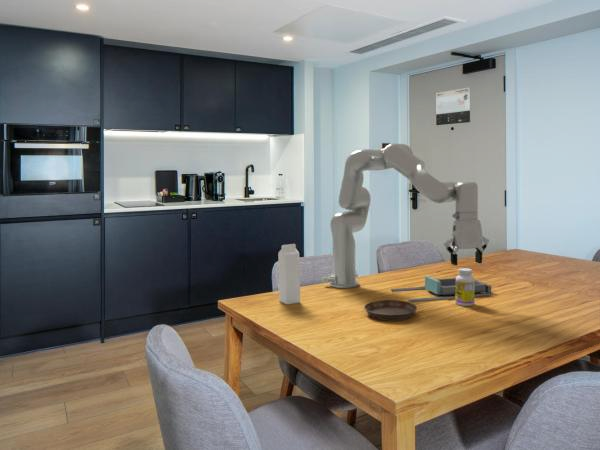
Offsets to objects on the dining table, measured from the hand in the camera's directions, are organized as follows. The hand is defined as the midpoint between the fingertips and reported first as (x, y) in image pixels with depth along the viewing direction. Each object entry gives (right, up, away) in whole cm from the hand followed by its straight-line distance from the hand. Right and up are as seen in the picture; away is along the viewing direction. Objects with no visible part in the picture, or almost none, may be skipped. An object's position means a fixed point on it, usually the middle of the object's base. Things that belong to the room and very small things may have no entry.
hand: (466, 263), depth 181 cm
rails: (-5, -13, +18) cm, 23 cm away
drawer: (+2, -13, +20) cm, 24 cm away
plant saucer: (-29, -17, -9) cm, 35 cm away
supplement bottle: (0, -15, +2) cm, 15 cm away
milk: (-64, -15, +9) cm, 67 cm away
